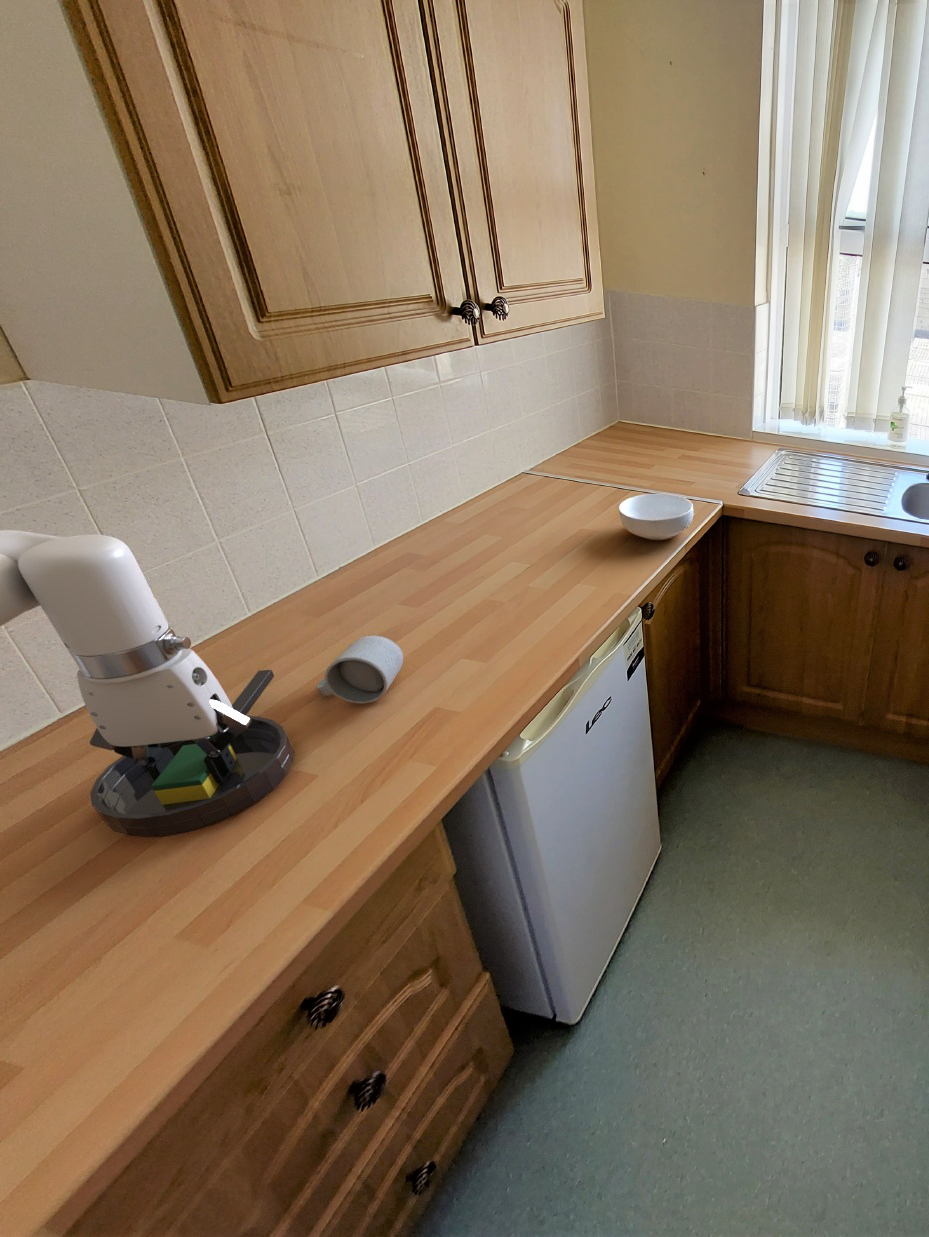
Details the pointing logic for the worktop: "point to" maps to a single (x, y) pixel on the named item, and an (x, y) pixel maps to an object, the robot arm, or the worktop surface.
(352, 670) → the ceramic mug
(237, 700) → the pan handle
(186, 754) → the sponge
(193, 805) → the pan
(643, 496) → the cereal bowl
